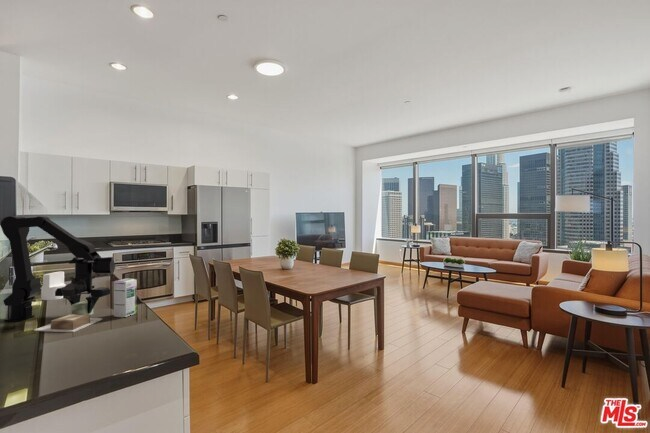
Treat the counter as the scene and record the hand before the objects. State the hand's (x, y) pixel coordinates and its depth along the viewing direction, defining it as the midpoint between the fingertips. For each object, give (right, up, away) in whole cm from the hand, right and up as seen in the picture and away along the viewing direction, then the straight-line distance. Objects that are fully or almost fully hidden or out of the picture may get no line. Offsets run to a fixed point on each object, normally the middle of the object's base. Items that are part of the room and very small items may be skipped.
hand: (82, 312), depth 129 cm
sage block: (0, -1, 0) cm, 1 cm away
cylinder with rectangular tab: (-34, -1, +26) cm, 42 cm away
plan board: (+4, -1, -11) cm, 12 cm away
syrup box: (+16, -2, +2) cm, 16 cm away
